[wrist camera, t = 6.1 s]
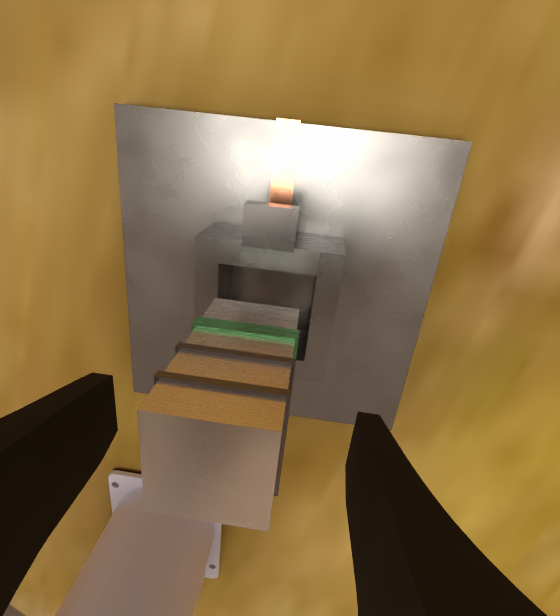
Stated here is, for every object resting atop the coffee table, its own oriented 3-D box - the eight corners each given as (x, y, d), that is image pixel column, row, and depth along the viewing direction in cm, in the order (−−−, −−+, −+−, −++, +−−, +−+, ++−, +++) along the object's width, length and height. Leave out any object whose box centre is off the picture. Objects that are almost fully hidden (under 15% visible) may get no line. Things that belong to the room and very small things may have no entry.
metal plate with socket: (388, 418, 22) (403, 482, 18) (141, 381, 23) (101, 434, 19) (464, 139, 16) (513, 138, 12) (124, 102, 17) (60, 90, 13)
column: (292, 383, 15) (272, 535, 9) (210, 371, 15) (139, 513, 9) (302, 306, 13) (286, 428, 8) (212, 294, 13) (132, 405, 8)
